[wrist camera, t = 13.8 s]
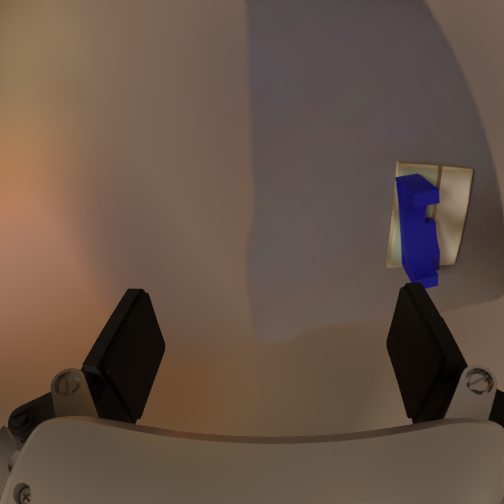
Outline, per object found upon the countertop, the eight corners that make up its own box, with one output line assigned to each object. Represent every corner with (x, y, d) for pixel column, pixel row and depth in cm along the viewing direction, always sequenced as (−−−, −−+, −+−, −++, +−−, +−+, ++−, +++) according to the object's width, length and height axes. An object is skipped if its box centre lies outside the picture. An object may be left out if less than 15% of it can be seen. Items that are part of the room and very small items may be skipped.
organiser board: (396, 160, 32) (401, 163, 31) (468, 166, 31) (474, 170, 30) (385, 263, 39) (388, 268, 38) (450, 260, 38) (455, 265, 37)
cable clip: (431, 257, 37) (448, 282, 31) (401, 264, 38) (415, 290, 32) (428, 171, 31) (451, 187, 26) (395, 177, 32) (413, 193, 27)
